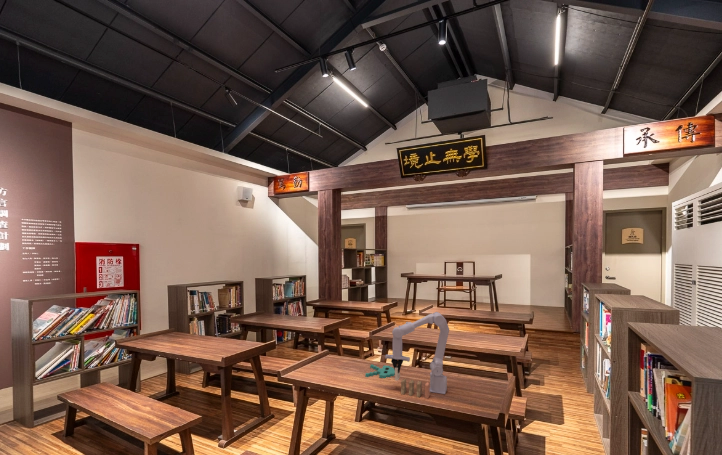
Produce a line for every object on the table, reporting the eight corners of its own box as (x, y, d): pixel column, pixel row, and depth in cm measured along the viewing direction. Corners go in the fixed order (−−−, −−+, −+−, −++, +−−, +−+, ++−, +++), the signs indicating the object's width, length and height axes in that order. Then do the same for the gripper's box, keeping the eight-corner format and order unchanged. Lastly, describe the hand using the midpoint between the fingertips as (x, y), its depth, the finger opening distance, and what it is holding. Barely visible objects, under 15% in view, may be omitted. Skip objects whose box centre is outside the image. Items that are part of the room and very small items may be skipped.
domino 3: (421, 394, 201) (421, 381, 202) (419, 397, 197) (419, 384, 197) (418, 393, 202) (418, 380, 202) (416, 396, 197) (416, 383, 198)
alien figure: (365, 377, 228) (396, 380, 224) (365, 374, 228) (396, 376, 224) (370, 367, 248) (399, 369, 244) (370, 364, 248) (399, 366, 244)
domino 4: (429, 395, 200) (429, 382, 200) (427, 398, 195) (427, 385, 196) (426, 394, 200) (426, 382, 201) (424, 398, 196) (424, 385, 196)
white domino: (399, 377, 210) (399, 365, 211) (397, 380, 206) (397, 368, 206) (397, 377, 211) (397, 365, 211) (394, 380, 206) (394, 368, 207)
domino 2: (413, 392, 203) (413, 380, 204) (411, 396, 198) (411, 383, 199) (411, 392, 204) (411, 379, 204) (408, 395, 199) (408, 382, 200)
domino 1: (406, 391, 205) (406, 379, 205) (403, 394, 200) (403, 382, 201) (403, 391, 205) (403, 378, 206) (401, 394, 201) (401, 381, 201)
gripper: (411, 348, 210) (411, 372, 209) (387, 345, 216) (387, 368, 215) (408, 351, 204) (408, 375, 203) (384, 348, 209) (383, 372, 209)
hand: (397, 372), depth 209 cm, fingers closed on white domino, 1 cm apart
